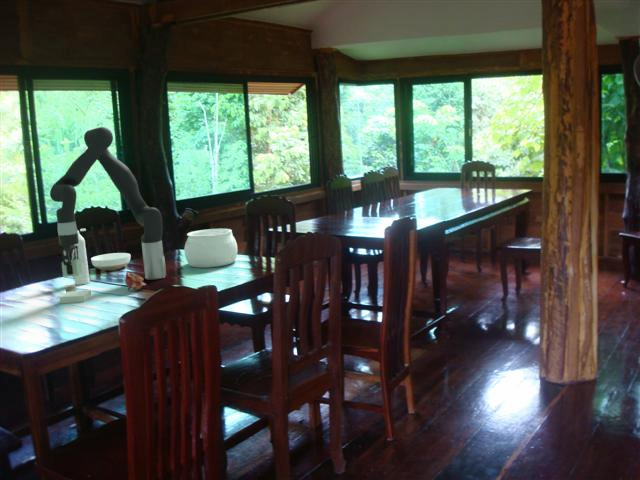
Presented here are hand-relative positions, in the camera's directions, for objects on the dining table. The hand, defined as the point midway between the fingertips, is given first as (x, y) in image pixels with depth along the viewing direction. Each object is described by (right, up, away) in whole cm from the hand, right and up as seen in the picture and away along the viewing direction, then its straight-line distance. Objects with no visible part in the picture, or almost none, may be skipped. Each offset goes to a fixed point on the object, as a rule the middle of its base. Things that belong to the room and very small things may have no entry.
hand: (72, 272), depth 285 cm
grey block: (-5, -10, +12) cm, 16 cm away
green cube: (0, -1, 0) cm, 1 cm away
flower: (+23, -8, +13) cm, 28 cm away
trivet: (+1, -11, +2) cm, 12 cm away
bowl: (-4, -1, +66) cm, 66 cm away
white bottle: (-7, -7, +34) cm, 35 cm away
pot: (+49, +1, +61) cm, 78 cm away
